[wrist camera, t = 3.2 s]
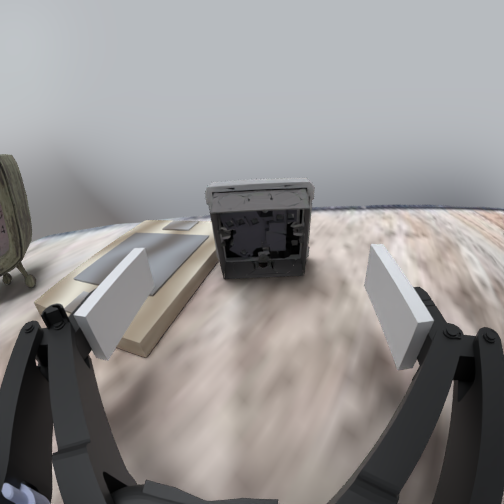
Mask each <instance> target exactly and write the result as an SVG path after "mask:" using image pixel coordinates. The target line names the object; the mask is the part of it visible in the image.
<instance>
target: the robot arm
mask: <svg viewBox="0 0 504 504" xmlns="http://www.w3.org/2000/svg"><path fill="white" fill-rule="evenodd" d="M364 286H365V289H366V291H367V293H368V296H369V298H370V300H371V303H372V305H373V307H374V310H375V312H376V315H377V317H378V319H379V322H380V324H381V327H382V330H383V332H384V335H385V337H386V340H387V343H388V345H389V348H390V351H391V353H392V356H393V359H394V362H395V365H396V367H397V370H403V369H409V368H413V366H414V364H415V362H416V360H418V362H419V365H420V366H419V368H418V370H417V372H416V374H415V376H414V377H413V379H412V382H411V384H410V386H409V388H408V390H407V392H406V394H405V396H404V398H403V400H402V402H401V403H400V405H399V407H398V409H397V410H396V412H395V414H394V416H393V417H392V419H391V421H390V422H389V424H388V425H387V427H386V429H385V430H384V432H383V433H382V435H381V436H380V438H379V439H378V441H377V442H376V444H375V445H374V447H373V448H372V450H371V451H370V452H369V454H368V455H367V457H366V458H365V459H364V461H363V462H362V463H361V465H360V466H359V467H358V469H357V470H356V471H355V472H354V474H353V475H352V476H351V477H350V479H349V480H348V481H347V482H346V483H345V485H344V486H343V487H342V488H341V489H340V490H339V492H338V493H337V494H336V495H335V496H334V497H333V498H332V499H331V500H330V501H329V502H328V503H327V504H397V503H398V500H399V493H400V491H401V489H402V488H403V486H404V484H405V483H406V481H407V480H408V478H409V476H410V475H411V473H412V471H413V469H414V468H415V466H416V464H417V462H418V460H419V459H420V457H421V455H422V453H423V451H424V449H425V447H426V445H427V443H428V441H429V439H430V437H431V434H432V432H433V430H434V428H435V426H436V423H437V421H438V419H439V416H440V414H441V411H442V409H443V406H444V403H445V401H446V398H447V395H448V392H449V389H450V387H451V383H452V380H454V388H453V402H452V413H451V421H450V429H449V436H448V442H447V447H446V452H445V457H444V462H443V466H442V471H441V475H440V479H439V482H438V486H437V489H436V493H435V496H434V499H433V502H432V504H501V501H502V496H503V491H504V355H503V349H502V344H501V339H500V337H499V335H498V334H497V332H496V331H494V330H493V329H490V328H487V327H483V328H481V329H480V330H479V331H478V333H477V335H476V336H470V335H464V334H463V332H462V330H461V329H460V328H459V327H457V326H456V325H454V324H450V323H447V322H446V321H445V319H444V318H443V316H442V314H441V313H440V311H439V310H438V308H437V307H436V306H435V304H434V302H433V301H432V300H431V298H430V296H429V295H428V293H427V292H426V291H424V290H423V289H422V288H420V287H413V286H412V285H411V283H410V282H409V280H408V279H407V277H406V276H405V274H404V273H403V271H402V270H401V269H400V267H399V266H398V264H397V263H396V262H395V260H394V259H393V257H392V256H391V255H390V253H389V252H388V250H387V249H386V248H385V246H384V245H383V244H371V246H370V253H369V260H368V266H367V272H366V278H365V284H364ZM154 287H155V285H154V281H153V278H152V274H151V270H150V266H149V262H148V258H147V254H146V250H145V248H134V249H133V250H132V251H131V252H130V253H129V254H128V255H127V256H126V257H125V258H124V259H123V260H122V261H121V262H120V263H119V264H118V265H117V267H116V268H115V269H114V270H113V271H112V272H111V273H110V274H109V275H108V276H107V277H106V278H105V279H104V281H103V282H102V283H101V284H100V285H99V286H98V287H97V288H95V289H94V290H92V291H91V292H90V293H89V294H88V295H87V296H86V297H85V299H83V300H82V302H81V304H79V305H78V306H77V307H76V309H75V310H74V311H73V312H72V313H71V314H70V316H69V317H68V316H67V314H66V312H65V309H64V307H63V305H62V304H58V303H56V304H52V305H50V306H48V307H47V308H46V309H44V311H43V312H42V314H41V317H42V319H43V321H44V323H45V324H46V326H47V328H41V327H40V325H39V323H38V322H37V321H31V322H28V323H26V324H25V325H24V326H23V327H22V329H21V331H20V333H19V336H18V338H17V341H16V343H15V346H14V348H13V351H12V354H11V357H10V360H9V362H8V365H7V369H6V372H5V375H4V378H3V381H2V385H1V389H0V504H51V499H52V463H53V467H54V471H55V475H56V479H57V483H58V486H59V490H60V493H61V496H62V499H63V502H64V504H278V499H251V498H239V499H230V500H218V501H206V500H203V499H200V498H198V497H195V496H193V495H191V494H188V493H186V492H184V491H182V490H180V489H178V488H175V487H172V486H168V485H164V484H160V483H156V482H153V481H149V480H146V481H145V484H144V485H138V484H137V483H136V481H135V480H134V479H133V477H132V476H131V475H130V474H129V472H128V471H127V469H126V467H125V465H124V462H123V460H122V458H121V455H120V453H119V450H118V448H117V445H116V443H115V440H114V437H113V435H112V432H111V429H110V426H109V423H108V420H107V417H106V414H105V411H104V407H103V404H102V401H101V397H100V393H99V390H98V386H97V382H96V378H95V374H94V370H93V365H92V361H91V358H90V356H89V355H88V354H89V353H90V351H91V350H92V351H93V353H94V355H95V356H96V358H99V359H103V360H107V361H108V360H109V358H110V357H111V355H112V353H113V352H114V350H115V348H116V347H117V345H118V343H119V342H120V340H121V338H122V337H123V335H124V333H125V332H126V330H127V329H128V327H129V325H130V324H131V322H132V321H133V319H134V317H135V316H136V314H137V313H138V311H139V310H140V308H141V306H142V305H143V303H144V302H145V300H146V299H147V297H148V296H149V294H150V293H151V291H152V290H153V288H154ZM35 360H37V361H38V366H36V362H35ZM53 423H54V430H55V435H56V441H57V446H58V452H55V453H53V454H52V434H53Z"/></svg>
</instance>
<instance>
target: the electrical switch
mask: <svg viewBox="0 0 504 504" xmlns="http://www.w3.org/2000/svg"><path fill="white" fill-rule="evenodd" d="M205 198H206V202H207V204H208V205H209V209H210V216H211V222H212V228H213V234H214V240H215V246H216V253H217V258H218V260H219V261H220V264H221V269H222V273H223V278H224V279H235V278H260V277H282V276H301V275H303V273H304V272H305V263H306V258H307V257H309V247H308V243H309V232H310V221H311V208H312V200H313V199H314V185H313V184H312V182H311V181H310V180H309V179H308V178H280V179H279V178H276V179H255V180H236V181H223V182H212V183H210V184H209V185H208V186H207V188H206V191H205ZM261 262H268V263H267V267H264V268H261V267H259V263H261ZM273 262H274V264H273V269H274V270H273V269H272V263H273ZM253 263H254V264H255V270H254V264H253ZM293 265H294V266H293ZM277 272H278V273H277ZM288 272H289V273H288ZM224 273H225V277H224Z"/></svg>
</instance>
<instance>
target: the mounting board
mask: <svg viewBox="0 0 504 504" xmlns="http://www.w3.org/2000/svg"><path fill="white" fill-rule="evenodd" d="M134 248H145V250H146V254H147V258H148V262H149V266H150V270H151V274H152V278H153V281H154V285H155V287H154V288H153V290H152V291H151V293H150V294H149V296H148V297H147V299H146V300H145V302H144V303H143V305H142V306H141V308H140V310H139V311H138V313H137V314H136V316H135V317H134V319H133V321H132V322H131V324H130V325H129V327H128V329H127V330H126V332H125V333H124V335H123V337H122V338H121V340H120V342H119V343H118V345H117V347H116V348H119V349H122V350H125V351H127V352H130V353H133V354H136V355H139V356H142V357H145V358H147V356H148V355H149V354H150V352H151V351H152V349H153V348H154V347H155V345H156V344H157V343H158V341H159V340H160V338H161V337H162V336H163V334H164V333H165V332H166V330H167V329H168V327H169V326H170V325H171V323H172V322H173V321H174V319H175V318H176V317H177V315H178V314H179V313H180V311H181V310H182V308H183V307H184V306H185V304H186V303H187V302H188V300H189V299H190V298H191V296H192V295H193V294H194V292H195V291H196V290H197V288H198V287H199V286H200V284H201V283H202V282H203V280H204V279H205V278H206V276H207V275H208V274H209V272H210V271H211V270H212V269H213V267H214V266H215V265H216V263H217V262H218V261H219V260H218V258H217V253H216V246H215V240H214V234H213V228H212V222H211V221H166V220H145V221H144V222H142V223H141V224H139V225H137V226H136V227H134V228H133V229H131V230H130V231H128V232H127V233H125V234H124V235H122V236H121V237H119V238H118V239H117V240H115V241H114V242H112V243H111V244H109V245H108V246H106V247H105V248H104V249H102V250H101V251H99V252H98V253H97V254H95V255H94V256H92V257H91V258H90V259H88V260H87V261H86V262H84V263H83V264H81V265H80V266H79V267H77V268H76V269H75V270H73V271H72V272H71V273H70V274H68V275H67V276H66V277H64V278H63V279H62V280H61V281H59V282H58V283H57V284H55V285H54V286H53V287H52V288H50V289H49V290H48V291H47V292H46V293H44V294H43V295H42V296H41V297H40V298H38V299H37V300H36V301H35V302H34V303H35V306H36V308H37V310H38V312H39V313H40V314H42V312H43V311H44V309H46V308H47V307H48V306H50V305H52V304H56V303H58V304H62V305H63V307H64V309H65V312H66V314H67V316H68V317H69V316H70V314H71V313H72V312H73V311H74V310H75V309H76V307H77V306H78V305H79V304H81V302H82V300H83V299H85V297H86V296H87V295H88V294H89V293H90V292H91V291H92V290H94V289H95V288H97V287H98V286H99V285H100V284H101V283H102V282H103V281H104V279H105V278H106V277H107V276H108V275H109V274H110V273H111V272H112V271H113V270H114V269H115V268H116V267H117V265H118V264H119V263H120V262H121V261H122V260H123V259H124V258H125V257H126V256H127V255H128V254H129V253H130V252H131V251H132V250H133V249H134Z"/></svg>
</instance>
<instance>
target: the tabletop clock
mask: <svg viewBox="0 0 504 504" xmlns="http://www.w3.org/2000/svg"><path fill="white" fill-rule="evenodd" d="M31 237H32V225H31V217H30V212H29V207H28V201H27V195H26V192H25V188H24V184H23V181H22V177H21V173H20V171H19V168H18V165H17V162H16V161H15V159H14V158H13V156H12V155H6V154H5V155H4V154H2V155H0V277H1V276H2V275H3V282H4V283H5V284H10V283H11V280H12V277H11V275H10V274H9V273H8V272H10V271H11V270H13V269H14V268H15V267H17V268H18V269H19V271H20V272H21V273H22V274H23V275H24V277H25V284H26V285H27V286H28V287H30V288H31V287H34V286H35V284H36V279H35V277H34V276H33V275H28V274H27V272H26V271H25V269H24V267H23V265H22V263H21V261H22V260H23V258H24V255H25V253H26V251H27V249H28V247H29V244H30V242H31Z"/></svg>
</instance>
